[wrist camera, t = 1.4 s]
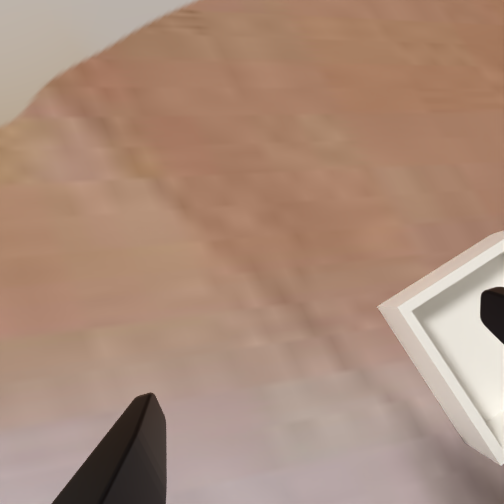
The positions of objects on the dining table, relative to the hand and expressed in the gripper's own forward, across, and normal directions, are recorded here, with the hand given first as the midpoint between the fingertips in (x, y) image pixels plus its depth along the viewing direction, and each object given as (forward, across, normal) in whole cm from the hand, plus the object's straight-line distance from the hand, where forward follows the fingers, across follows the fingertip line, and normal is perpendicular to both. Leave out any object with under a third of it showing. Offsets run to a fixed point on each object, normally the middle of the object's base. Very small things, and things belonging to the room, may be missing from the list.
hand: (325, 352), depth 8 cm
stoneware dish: (+11, -15, +12) cm, 22 cm away
